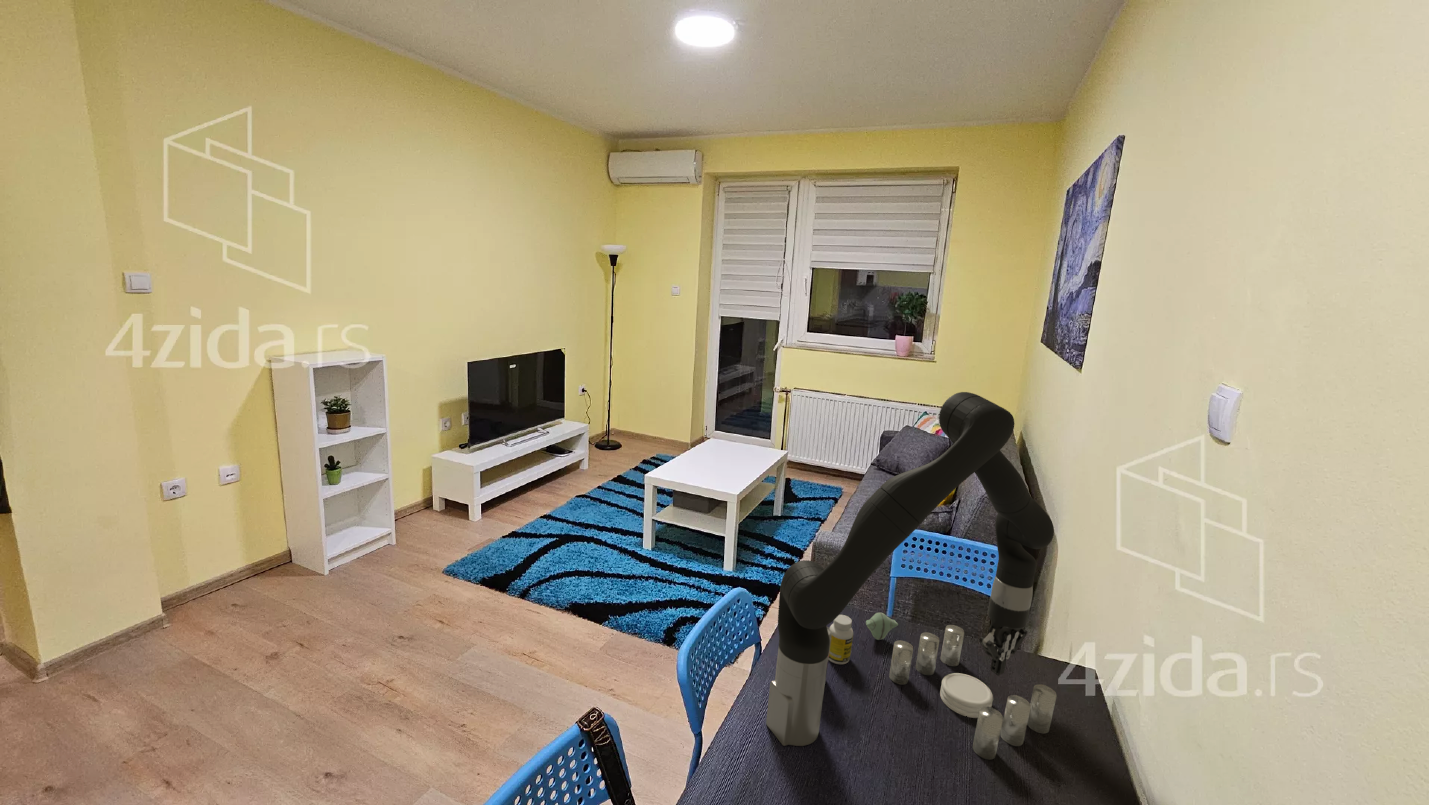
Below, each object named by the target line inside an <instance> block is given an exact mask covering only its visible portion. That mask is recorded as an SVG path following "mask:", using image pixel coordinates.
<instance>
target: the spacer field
mask: <svg viewBox="0 0 1429 805" xmlns="http://www.w3.org/2000/svg"><path fill="white" fill-rule="evenodd" d="M944 630H945V631H944V634H943V642H942V647H941V653H940V658H939V659H940V661H941V662H942V663H943V664H944V665H946V664H947V665H946V666H950V667H957V666H959V664H960V659H961V653H962V648H963V647H962V646H963V642H964V636H965V630H964V629H963V628H962V627H961V626H958V625H955V624H948V625H946V626H945V629H944ZM939 645H940V637H938V635H936V634H934V633H931V632H928V631H927V632H922V633H921V634H920V638H919V643H918V649H917V656H916V662H915V670H916V672H918V673H920V674H922V675H924V676H932V675H934V674H935V670H936V663H937V656H938V651H939ZM913 652H914V647H913V645H912V644H911V643H909V642H908V641H906V640H896V641H894V643H893V649H892V655H891V660H890V668H889V675H888V676H889V679H890V680H891V682H893V683H894V684H896V685H906V684H908V683H909V679H910V678H909V677H910V671H911V666H912V658H913ZM1057 696H1058V695H1057V692H1056V691H1055V690H1054V689H1053V688H1051V687H1050V686H1048V685H1045V684H1040V683H1039V684H1035V685H1034V686H1033V689H1032V694H1031V699H1030V702H1029V701H1028V700H1027V699H1026V698H1025V697H1022V696H1020V695H1017V694H1011V695H1009V696H1008V697H1007V700H1006V705H1005V709H1004V715H1002V713H1001V712H1000V711H999V710H998V709H996V708H993V707H992V706H991V707H986V706H985V707H981V708H980V710H979V716H978V718H977V722H976V726H975V731H974V737H973V742H972V743H973V744H972V750H973V752H974V753H975V755H977V756H979V757H980V758H982V759H984V760H990V761H991V760H994V759H995V758H996V756H997V751H998V745H999V740H1000V737H1001V739H1002V740H1003V741H1004V742H1005V743H1007V744H1008V745H1011V746H1014V747H1020V746H1022V745H1023V744H1024V741H1025V736H1026V731H1027V726H1028V727H1029V729H1031V730H1032V731H1034V732H1035V733H1039V734H1048V733H1049V732H1050V729H1051V728H1050V727H1051V724H1052V718H1053V713H1054V709H1055V704H1056V700H1057Z"/></svg>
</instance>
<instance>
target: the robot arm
mask: <svg viewBox="0 0 1429 805" xmlns="http://www.w3.org/2000/svg"><path fill="white" fill-rule="evenodd" d="M938 423H939V426H940V429H941V431H942V432H943V434H944V435H946V437H947V438H948V439H949V440H950V441H951V442H952V445H951V446H950V447H948V449H947V450H946V451H945V452H943V453H942V454H941V455H940V456H938V457H937V458H935V459H934V460H931V461H930V462H929V463H926V464H923V465H920V466H918V467H915V468H912V469H910V470H906V471H904V472H901V473H899V474H896V475H895V476H892V477H890V478H889V479H887V480H886V481H885V482H883V483H882V484H881V485H880V487H878V489H876V490H875V492H874V493H873V494H872V495H871V496H870V497H869V498H868V499H867V500H866V501H865V502H864V503H863V504H862V506H861V507H860V509H859V511H858V512H857V514H856V517H855V519H854V521H853V523H852V525H851V528H850V530H849V532H848V535H847V538H846V539H845V542H844V544H843V546H842V547H841V549H840V551H839V552H838V554H837V555H836V556H835V557H834V559H833V560H832V561H830V563H828V564H827V566H826V567H825V568H824V567H823V566H822V565H821V564H820V563H818V562H816V561H813V560H807V559H806V560H800V561H797V562H795V563H793V564H792V565H791V566H789V567H788V568H787V570H786V571H785V572H784V574H783V576H782V578H781V583H780V588H779V596H778V597H779V599H778V612H777V629H778V636H779V637H778V648H777V657H776V667H775V677H774V680H770V684H769V693H768V702H767V712H766V714H767V715H766V721H765V722H766V724H765V725H766V726H767V728H768V729H770V731H771V732H772V733H773V735H774V736H775V738H777V741H779V742H780V743H781V745H782V746H784V747H785V746H788V745H789V746H796V747H803V746H807V745H810V744H813V743H814V742H815V741H816V740H817V739H818V736H819V732H820V724H821V717H822V716H821V715H822V709H823V701H824V692H825V686H826V685H825V684H826V682H825V678H826V679H827V676H826V670H827V671H828V668H827V663H828V664H829V660H828V655H829V646H830V639H829V634H828V630H827V627H828V625H830V624H832V622H834V619H835V618H836V617H837V616H838V615H841V613H843V611H844V610H845V609H846V607H847V606H848V605H849V603H850V602H851V601H852V600H853V598H854V597H855V596H856V595H857V593H858V592H859V590H860V589H861V588H862V587H863V585H864V584H865V583H866V582H867V581H868V579H869V578H870V577H871V576H872V575H873V574H874V573H875V572H876V571H877V569H879V567H880V566H881V565H882V564H883V563H884V562H885V561H886V560H887V559H888V558H889V556H890V555H891V554H892V553H893V552H894V551H895V550H896V549H897V548H898V547H900V546H901V544H902V543H904V541H905V540H906V539H907V538H909V537H910V536H911V534H913V533H914V531H916V530H917V528H918V527H919V526H921V524H923V522H924V521H925V520H926V519H927V517H929V516H930V514H931V513H932V512H933V511H935V509H936V508H937V507H938V506H939V505H940V504H941V503H943V501H945V500H946V498H947V497H948V496H949V495H950V494H951V493H952V492H954V490H956V489H957V488H958V487H959V486H960V485H961V484H962V483H963V482H965V481H966V480H967V479H968V478H969V477H971V476H972V475H973V474H975V475H976V477H977V479H978V480H979V482H980V484H981V485H982V488H983V490H984V492H985V494H986V495H987V497H988V499H989V501H990V503H991V504H992V506H993V509H994V510H995V512H996V513H997V514H996V517H995V521H994V522H995V524H994V529H995V536H996V537H995V538H996V546H997V548H996V549H997V553H998V554H997V555H998V559H997V560H998V561H997V566H996V567H997V568H996V572H995V577H994V580H993V583H992V585H991V586H992V587H991V591H990V596H989V597H990V599H989V603H988V608H987V609H988V610H987V615H988V618H989V619H990V626H989V627H988V634H987V635H986V636H985V637H984V636H980V637H979V639H978V641H979V643H980V645H981V647H982V649H983V650H984V653H985V654H986V655H987V656H989V657H990V658H991V663H990V664H991V665H990V671H991V672H992V673H993V674H994V675H996V676H1001V675H1003V674H1005V670H1006V664H1007V660H1008V659H1010V657H1011V655H1013V656H1014V655H1015V654H1016V652H1018V649H1019V647H1020V646H1021V644H1022V643H1023V641H1024V640H1025V638H1026V636H1027V635H1028V630H1026V629H1025V628H1026V627H1027V625H1028V622H1029V621H1028V620H1029V616H1030V611H1031V605H1032V601H1033V593H1034V592H1033V591H1034V590H1033V588H1034V582H1035V577H1036V572H1037V568H1038V567H1037V565H1038V563H1037V560H1036V559H1035V557H1034V556H1033V555H1032V554H1031V553H1030V552H1028V551H1027V550H1026V549H1025V548H1024V547H1023V546H1025V547H1027V548H1029V549H1034V550H1040V549H1044V548H1046V547H1048V546H1049V545H1050V544H1051V543H1052V540H1053V539H1054V534H1055V529H1054V528H1055V527H1054V523H1053V521H1052V519H1051V517H1050V516H1049V514H1048V513H1047V512H1046V510H1044V508H1043V507H1042V506H1041V505H1040V504H1039V503H1038V502H1037V501H1036V500H1035V499H1034V498H1033V497H1032V496H1031V493H1030V491H1029V489H1028V488H1027V485H1026V483H1025V481H1024V479H1023V477H1022V475H1021V474H1020V473H1019V471H1018V470H1017V469H1016V467H1015V466H1014V465H1013V464H1012V462H1011V461H1010V459H1009V458H1007V456H1005V454H1004V453H1003V452H1002V451H1001V450H1002V449H1003V448H1004V446H1005V445H1006V444H1007V442H1009V440H1010V438H1011V437H1012V435H1013V432H1014V429H1015V425H1016V424H1015V418H1014V416H1013V414H1012V413H1011V412H1010V411H1009V410H1007V409H1005V408H1004V407H1002V406H1000V405H998V404H996V403H994V402H993V401H990V400H988V399H987V398H984V396H981V395H979V394H977V393H973V392H969V391H960V392H957V393H954V394H953V395H951V396H949V397H948V398H947V399H946V400H945V401H944V402H943V404H942V406H941V408H940V409H939V414H938Z"/></svg>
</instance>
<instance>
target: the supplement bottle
mask: <svg viewBox="0 0 1429 805" xmlns="http://www.w3.org/2000/svg"><path fill="white" fill-rule="evenodd" d="M832 622H833V623H831V624H830V626H829V627H828V628H829V629H830V630H831V635H832V636H831V644H830V652H829V660H828V661H830V662H831V663H833V664H836V665H845V664H847V663H849V662H850V658H851V653H852V646H853V639H854V631H853V630H854V629H853V628H852V624H853V620H852V618H850V617H849V616H848V615H844V614H839V615H838V616H837V617H836V618H835V619H834V620H833V621H832Z"/></svg>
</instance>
